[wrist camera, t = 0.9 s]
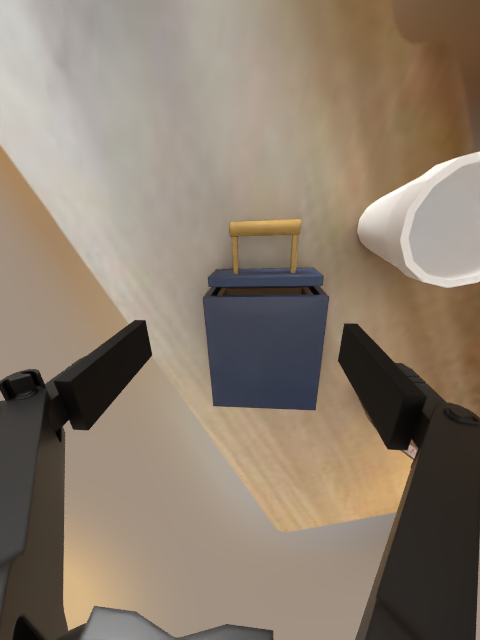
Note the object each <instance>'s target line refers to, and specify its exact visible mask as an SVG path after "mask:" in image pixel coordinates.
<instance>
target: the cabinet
mask: <svg viewBox="0 0 480 640" xmlns="http://www.w3.org/2000/svg"><path fill="white" fill-rule="evenodd" d="M266 287H308V288H309V289H310V291H311V292H312V293H313V295H234V296H217V294H218V293H219V291H220V290H221V288H233V287H211V288H210V290H209V291H208V292H207V293H206V294H205V296H204V297H203V304H204V315H205V325H206V335H207V345H208V355H209V365H210V376H211V386H212V396H213V406H223V407H248V408H273V409H297V410H316V402H317V393H318V385H319V377H320V368H321V360H322V352H323V343H324V335H325V326H326V318H327V310H328V301H329V296H328V295H327V294H326V293H325V292H324V291H323V290H322V289H321V288H320V287H319V286H266Z"/></svg>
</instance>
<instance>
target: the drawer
mask: <svg viewBox="0 0 480 640" xmlns="http://www.w3.org/2000/svg"><path fill="white" fill-rule="evenodd" d="M300 231H301V220H300V219H292V220H266V221H239V222H230V223H229V232H230V236H231V237H232V250H233V269H223V270H215V271H214V272H213V273H212V274H211V275H210V276H209V277H208V285H209V287H233V288H221V290H220V291H219V293H218V294H217V296H234V295H313V293H312V292H311V291H310V289H309V288H308V287H266V286H322V285H323V277H324V276H323V275H322V274H321V273H319V272H318V271H317V270H316V269H314V268H296V261H297V244H298V235H297V234H300ZM265 235H292V248H291V268H280V269H239V268H238V239H237V236H265Z"/></svg>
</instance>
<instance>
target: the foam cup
mask: <svg viewBox="0 0 480 640" xmlns="http://www.w3.org/2000/svg"><path fill="white" fill-rule="evenodd" d="M357 233H358V237H359V240H360V242H361V243H362V244H363V245H364V246H365V247H366V248H367V249H368V250H370V251H371V252H373V253H375V254H376V255H378V256H379V257H381V258H383V259H384V260H386V261H387V262H389V263H391V264H392V265H394V266H395V267H397V268H398V269H399V270H400V271H401V272H402V273H403V274H405V275H406V276H407V277H410V278H413V279H416V280H419V281H422V282H425V283H430V284H434V285H438V286H442V287H446V288H450V287H455V286H461V285H466V284H472V283H477V282H479V281H480V152H476V153H473V154H469V155H465V156H461V157H458V158H455V159H453V160H450V161H447V162H444V163H441V164H438V165H436V166H434V167H433V168H432V169H430V170H429V171H428V172H426V173H425V174H424V175H422V176H421V177H419V178H417V179H415V180H413V181H411V182H410V183H408V184H406V185H404V186H402V187H400V188H398V189H397V190H395V191H393V192H391V193H389V194H387V195H385V196H384V197H382V198H380V199H378V200H377V201H375V202H374V203H373V204H371V205H370V206H369V207H367V208H366V209H365V211H364V213H363V214H362V216H361V217H360V219H359V223H358V229H357Z"/></svg>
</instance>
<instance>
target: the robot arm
mask: <svg viewBox="0 0 480 640" xmlns="http://www.w3.org/2000/svg"><path fill="white" fill-rule="evenodd" d="M151 356H152V352H151V346H150V341H149V336H148V331H147V326H146V321H145V320H134V321H133V322H132V323H130V324H129V325H128V326H126V327H125V328H124V329H122V330H121V331H120V332H118V333H117V334H116V335H114V336H113V337H112V338H110V339H109V340H108V341H106V342H105V343H103V344H102V345H101V346H99V347H98V348H97V349H95V350H94V351H93V352H91V353H90V354H89V355H87V356H85V357H83V358H81V359H79V360H78V361H76V362H75V363H73V364H72V365H71V366H69V367H68V368H67V369H66V370H65V371H63V372H61V373H60V374H58V375H57V376H56V377H54V378H53V379H52V380H50V381H49V382H47V383H46V384H44V382H43V379H42V377H41V374H40V372H39V370H36V369H29V370H24V371H20V372H17V373H14V374H12V375H10V376H7V377H6V378H4V379H3V380H1V381H0V391H1V393H2V394H3V396H4V398H5V401H0V640H273V631H272V630H265V629H258V628H251V627H243V626H236V625H229V624H226V625H222V626H219V627H215V628H212V629H209V630H205V631H201V632H198V633H195V634H191V635H188V636H184V637H180V638H176V637H173V636H171V635H170V634H168V633H167V632H165V631H164V630H162V629H161V628H159V627H158V626H156V625H155V624H153V623H152V622H150V621H149V620H147V619H146V618H144V617H143V616H141V615H140V614H138V613H137V612H134V611H127V610H120V609H113V608H105V607H98V606H94V608H93V610H92V612H91V615H90V617H89V619H88V621H87V623H85V624H83V625H80V626H78V627H76V628H74V629H72V630H70V631H68V627H67V622H66V618H65V614H64V608H63V558H64V557H63V555H64V479H65V475H64V474H65V431H64V428H63V425H64V424H65V423H66V422H67V421H68V420H69V421H70V423H71V425H72V428H73V429H74V430H89V429H90V428H91V427H92V426H93V424H94V423H95V422H96V421H97V420H98V419H99V417H100V416H101V415H102V414H103V413H104V411H105V410H106V409H107V408H108V407H109V406H110V404H111V403H112V402H113V401H114V400H115V399H116V397H117V396H118V395H119V394H120V393H121V391H122V390H123V389H124V388H125V387H126V385H127V384H128V383H129V382H130V381H131V380H132V378H133V377H134V376H135V375H136V374H137V373H138V371H139V370H140V369H141V368H142V367H143V365H144V364H145V363H146V362H147V361H148V360H149V358H150V357H151ZM338 362H339V363H340V365H341V367H342V369H343V370H344V372H345V374H346V376H347V378H348V379H349V381H350V383H351V385H352V387H353V388H354V390H355V392H356V394H357V395H358V397H359V399H360V401H361V403H362V404H363V406H364V408H365V410H366V412H367V413H368V415H369V417H370V419H371V420H372V422H373V424H374V426H375V428H376V429H377V431H378V433H379V435H380V437H381V438H382V440H383V442H384V444H385V445H386V447H387V449H391V450H407V451H408V448H409V445H410V442H411V440H412V441H413V442H414V444H415V445H416V446H417V448H418V450H417V452H416V455H415V458H414V460H413V463H412V465H411V470H410V473H409V477H408V480H407V483H406V486H405V489H404V492H403V495H402V498H401V501H400V504H399V507H398V510H397V513H396V517H395V519H394V522H393V526H392V529H391V532H390V535H389V538H388V541H387V544H386V547H385V550H384V553H383V556H382V559H381V562H380V566H379V569H378V572H377V575H376V578H375V581H374V584H373V587H372V590H371V593H370V596H369V599H368V602H367V606H366V608H365V611H364V615H363V617H362V621H361V624H360V627H359V630H358V633H357V636H356V639H355V640H475V639H476V638H475V637H476V612H477V589H478V564H479V562H478V561H479V538H480V418H479V417H478V416H477V415H476V414H474V413H473V412H471V411H470V410H468V409H466V408H464V407H462V406H459V405H456V404H452V403H447V402H446V401H445V400H444V399H442V398H441V397H440V396H439V395H438V394H437V393H436V392H435V391H434V390H433V389H432V388H431V387H430V386H429V385H428V384H426V382H425V381H424V380H423V379H422V378H420V376H419V375H417V374H416V373H415V372H414V371H413V370H412V369H410V368H409V367H407V366H405V365H404V364H402V363H394V362H393V361H392V360H391V358H390V357H389V356H388V355H387V354H386V353H385V352H384V351H383V350H382V349H381V348H380V347H379V346H378V345H377V344H376V343H375V342H374V341H373V340H372V339H371V338H370V337H369V336H368V335H367V334H366V333H365V332H364V330H363V329H362V328H361V327H360V326H359V325H358V324H344V329H343V335H342V341H341V346H340V352H339V358H338Z"/></svg>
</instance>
